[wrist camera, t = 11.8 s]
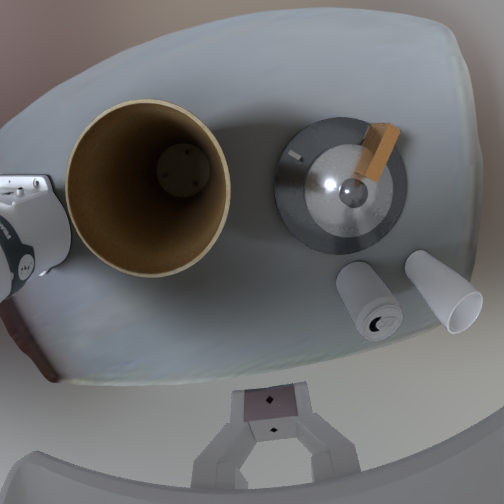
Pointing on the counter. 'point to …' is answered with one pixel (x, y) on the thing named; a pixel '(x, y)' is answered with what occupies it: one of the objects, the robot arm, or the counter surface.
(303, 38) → the counter surface
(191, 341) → the counter surface
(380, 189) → the dial
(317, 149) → the dial plate
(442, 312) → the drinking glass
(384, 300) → the beverage can
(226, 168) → the plant pot
